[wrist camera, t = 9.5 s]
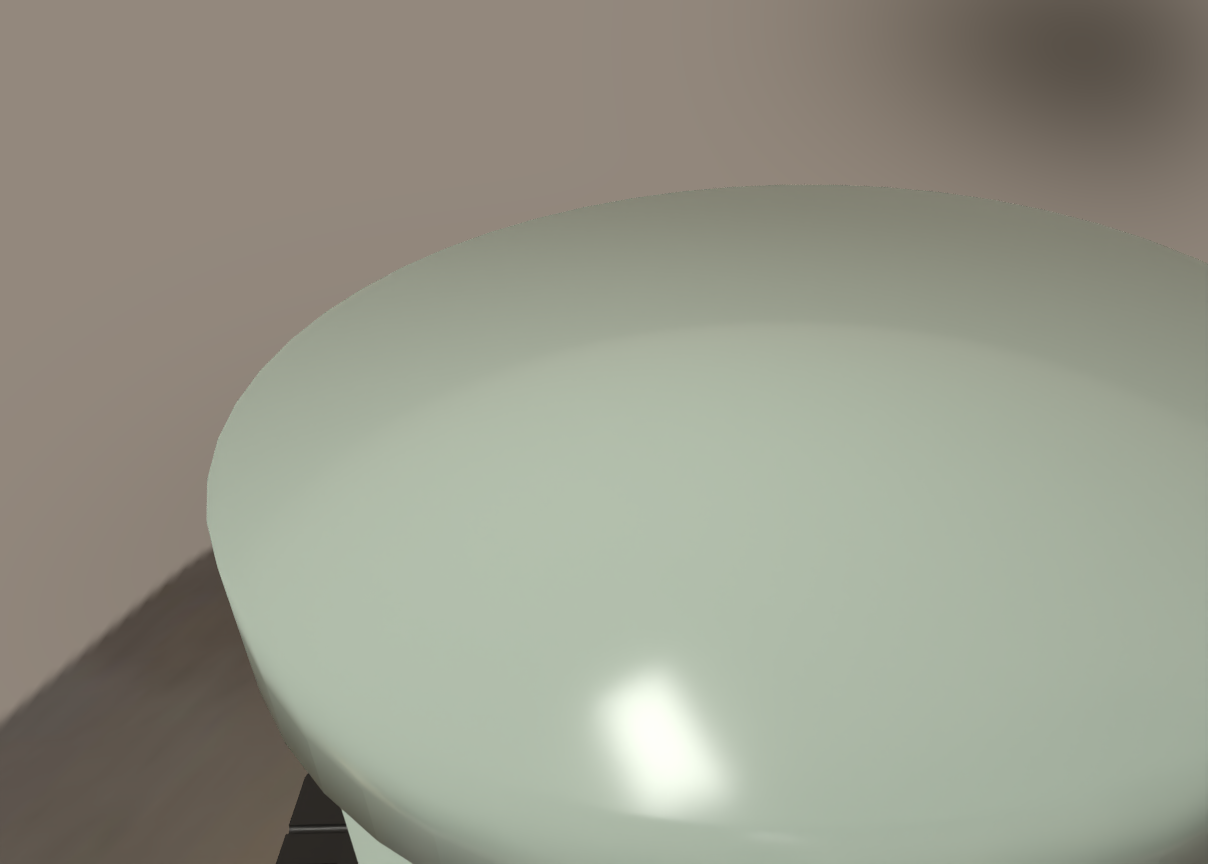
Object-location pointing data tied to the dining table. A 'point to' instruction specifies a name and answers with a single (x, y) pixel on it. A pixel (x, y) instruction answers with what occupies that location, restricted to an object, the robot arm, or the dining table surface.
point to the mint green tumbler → (742, 538)
